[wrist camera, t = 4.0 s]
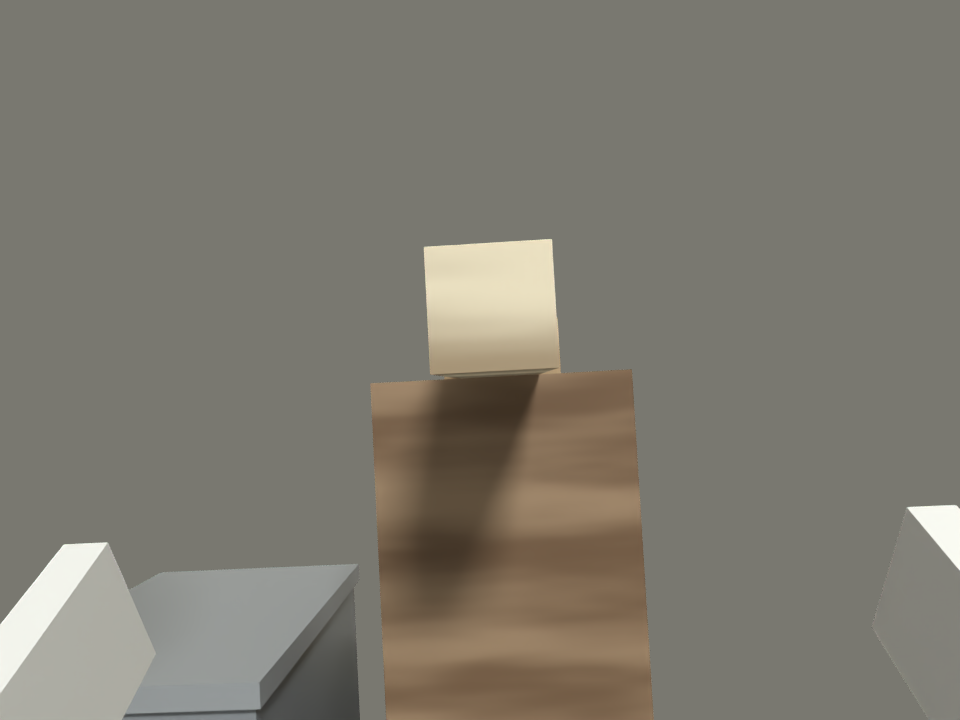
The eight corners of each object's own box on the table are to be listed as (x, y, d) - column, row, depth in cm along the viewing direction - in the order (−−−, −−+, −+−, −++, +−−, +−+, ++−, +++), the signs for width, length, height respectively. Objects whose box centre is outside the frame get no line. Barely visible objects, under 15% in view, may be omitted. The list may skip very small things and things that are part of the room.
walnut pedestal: (683, 1197, 24) (631, 369, 25) (408, 1198, 25) (370, 383, 26) (611, 862, 41) (582, 375, 42) (449, 865, 42) (425, 384, 43)
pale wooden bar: (624, 363, 15) (617, 234, 15) (366, 377, 16) (360, 251, 16) (553, 376, 40) (550, 327, 40) (454, 382, 41) (451, 333, 41)
